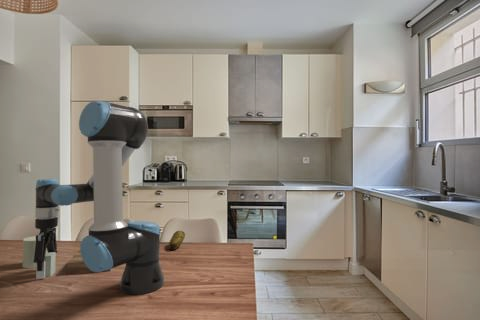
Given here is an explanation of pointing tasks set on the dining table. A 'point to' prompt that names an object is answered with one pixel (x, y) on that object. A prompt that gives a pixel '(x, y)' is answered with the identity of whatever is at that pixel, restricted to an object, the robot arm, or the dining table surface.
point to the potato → (176, 239)
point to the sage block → (50, 263)
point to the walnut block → (78, 265)
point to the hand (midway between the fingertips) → (45, 273)
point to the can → (29, 252)
